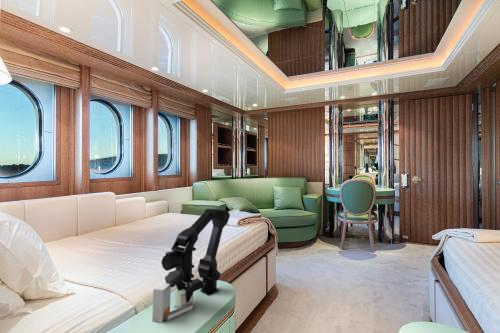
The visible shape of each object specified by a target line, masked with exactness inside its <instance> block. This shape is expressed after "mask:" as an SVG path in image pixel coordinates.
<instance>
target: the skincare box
mask: <svg viewBox="0 0 500 333" xmlns="http://www.w3.org/2000/svg"><path fill="white" fill-rule="evenodd" d="M171 289H172V287H171V286H170V284H167V283H166V282H161V283H160V284H158V285H157V286H156V287H155V288H153V292H152V316H151V317H152V318H151V321H152V322H158V323H162V322H164V320H165V314H167V313H169V312H171Z"/></svg>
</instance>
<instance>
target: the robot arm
mask: <svg viewBox="0 0 500 333" xmlns="http://www.w3.org/2000/svg"><path fill="white" fill-rule="evenodd" d="M230 216H231V214H230V212H229V210H228V209H222V208H216V209H214V208H206V209H204V212H203V213H202V214H201V215H200V216H199V217H198V218H197V219H196V220H195V221H194V222H193V223H192V225H190V226H189V227H188V228H185V229H183V230H182V231H180V232H179V233H178V235H177V236H176V238H175V241H174V242H173V244H172V247H171V248H170V250H171V251H166V252H165V255H164V256H162V259H161V266H162V269H163V270H165V271H167V272H168V271H169V272H168V273H167V275H165V277H164V280H165V283H167V284H170V286H171V288H174V287H176V289H177V291H179V290H182V289H184V290H185V294H186V302H189V301H190V298H191V296H192V294H193V295H194V292H196V291H199V292H201V293H203V294H204V295H207V296H210V295H213V294H215V293H217V292H219V291H220V290H219V289H218V286H217V285H218V283H217V282H218V281H219V279H220V278H221V272H220V271H219V269H218V262H217V254H218V250H219V245H220V242H221V237H222V234H223V229H224V228H225V227H226V225H227V224H228V223H229V219H230ZM210 222H212V229H211V233H210V237H209V241H208V245H207V249H206V252H205V255H204V257H203V258H200V259H199V263H198V265H197V272H198V276H199V278H201V279H202V280H201V279H199V278H195V274H193V268H195V265H194V264H193V252H194V251H197V248H196V247H195V244H196V242H197V241H198V239H199V235H200V234H201V233H202V231H203V230H204V229H205V228H206V227H207V226H208V224H210ZM170 270H171V271H170Z"/></svg>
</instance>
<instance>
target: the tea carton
mask: <svg viewBox="0 0 500 333" xmlns="http://www.w3.org/2000/svg"><path fill="white" fill-rule="evenodd" d="M174 301H175V305H178V306H180V307H183V306H185V305H187V304H189V303H193V302H194V293H193V294H192V296H191V298H190V301H189V302H186V294H185V290H184V289H182V290H179V291H178V290H177V291H175V300H174Z"/></svg>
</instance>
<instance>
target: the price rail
mask: <svg viewBox="0 0 500 333" xmlns="http://www.w3.org/2000/svg"><path fill="white" fill-rule="evenodd" d="M194 304H195V303H193V302H192V303H190V304H187V305H185V306H183V307H180V308H178V309H176V308H175V309H174V310H170V312H169V313H167V314H165V319H164V320H165V321H166V322H169V321H171V320H174V319H176V318H178V317H180V316H182V315H185V314H186V313H188V312H191V311H193V310H194V306H195V305H194Z"/></svg>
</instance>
